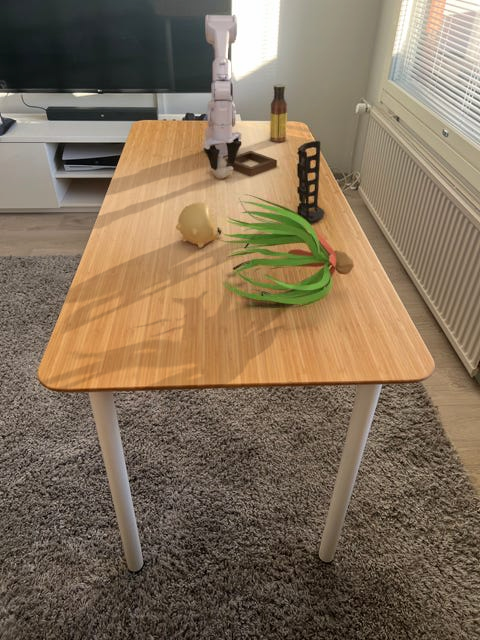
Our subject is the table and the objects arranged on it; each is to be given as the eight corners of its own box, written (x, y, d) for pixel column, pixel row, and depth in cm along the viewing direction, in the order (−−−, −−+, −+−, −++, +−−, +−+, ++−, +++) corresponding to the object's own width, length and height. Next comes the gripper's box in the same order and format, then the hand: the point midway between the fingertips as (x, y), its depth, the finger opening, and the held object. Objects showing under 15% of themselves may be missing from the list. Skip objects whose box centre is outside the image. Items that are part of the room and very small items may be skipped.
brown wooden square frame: (224, 166, 177) (224, 158, 176) (250, 157, 184) (250, 150, 183) (250, 176, 170) (250, 169, 168) (276, 167, 177) (277, 160, 176)
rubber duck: (213, 174, 171) (213, 150, 166) (233, 175, 171) (233, 151, 166) (212, 180, 167) (211, 156, 162) (232, 181, 166) (232, 156, 162)
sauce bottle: (286, 137, 203) (289, 83, 191) (285, 143, 198) (289, 87, 186) (269, 137, 203) (272, 83, 191) (268, 142, 198) (271, 87, 186)
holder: (322, 224, 142) (323, 152, 130) (295, 224, 144) (293, 153, 132) (325, 208, 151) (326, 139, 139) (299, 208, 152) (298, 140, 141)
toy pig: (214, 259, 134) (234, 223, 135) (194, 240, 123) (215, 202, 124) (186, 246, 138) (205, 212, 139) (164, 227, 128) (184, 190, 128)
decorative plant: (357, 331, 113) (226, 351, 106) (315, 256, 129) (199, 269, 121) (396, 239, 94) (240, 255, 86) (342, 164, 110) (206, 172, 102)
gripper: (213, 130, 152) (214, 175, 160) (248, 121, 160) (247, 163, 168) (198, 125, 156) (199, 168, 164) (232, 116, 164) (232, 158, 172)
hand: (222, 166), depth 166 cm, fingers open, 7 cm apart
